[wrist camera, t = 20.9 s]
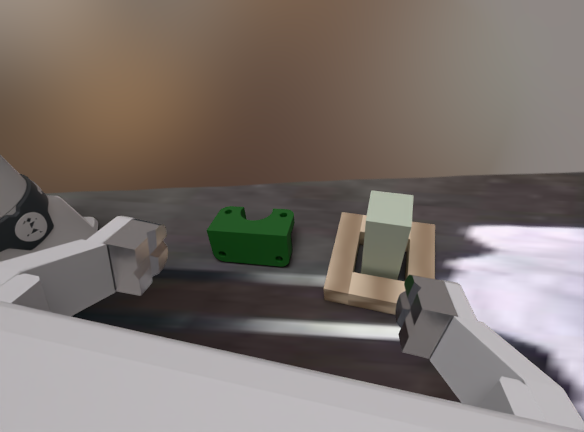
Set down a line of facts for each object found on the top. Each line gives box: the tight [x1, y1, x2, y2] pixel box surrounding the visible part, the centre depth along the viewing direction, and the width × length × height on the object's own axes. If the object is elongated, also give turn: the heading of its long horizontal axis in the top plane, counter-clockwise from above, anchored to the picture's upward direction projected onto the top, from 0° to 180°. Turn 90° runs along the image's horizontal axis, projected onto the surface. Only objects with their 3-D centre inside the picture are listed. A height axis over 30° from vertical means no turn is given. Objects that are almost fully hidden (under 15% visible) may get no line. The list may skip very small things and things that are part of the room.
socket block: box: [324, 212, 435, 315], centre depth 42 cm, size 12×12×3 cm
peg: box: [361, 191, 413, 280], centre depth 38 cm, size 4×4×12 cm
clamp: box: [207, 206, 294, 267], centre depth 46 cm, size 12×6×9 cm, turn 74°
